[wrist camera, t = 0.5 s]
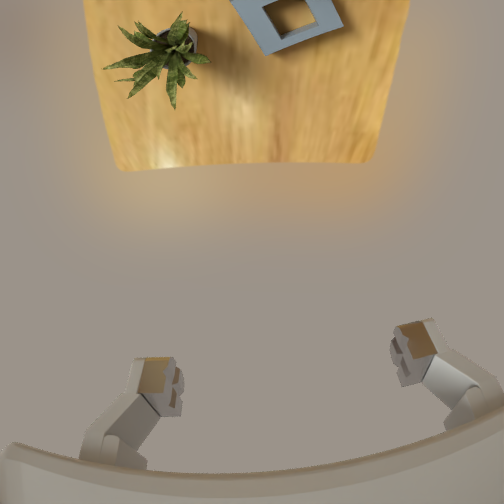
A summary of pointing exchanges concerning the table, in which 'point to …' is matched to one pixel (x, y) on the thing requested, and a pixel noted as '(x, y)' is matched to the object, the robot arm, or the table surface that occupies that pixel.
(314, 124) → the table surface
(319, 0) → the socket panel
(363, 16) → the table surface
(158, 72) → the house plant
